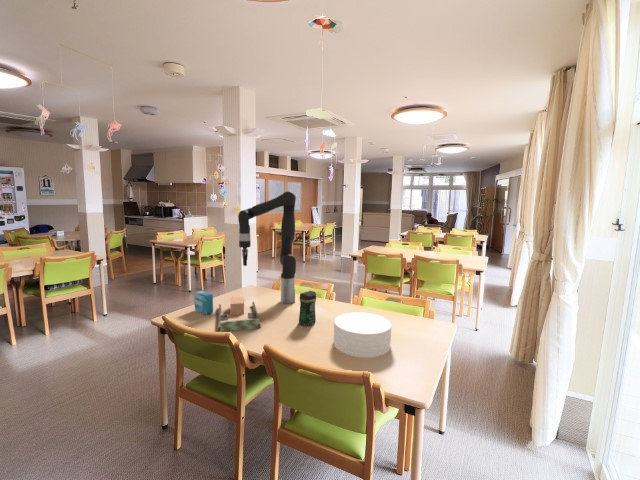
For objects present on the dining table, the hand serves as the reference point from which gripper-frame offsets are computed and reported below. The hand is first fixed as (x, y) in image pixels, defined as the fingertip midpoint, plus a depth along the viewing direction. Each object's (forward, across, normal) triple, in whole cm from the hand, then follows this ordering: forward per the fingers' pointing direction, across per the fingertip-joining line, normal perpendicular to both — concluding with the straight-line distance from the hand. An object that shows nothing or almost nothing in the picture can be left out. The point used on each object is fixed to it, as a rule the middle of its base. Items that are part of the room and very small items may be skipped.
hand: (244, 265), depth 221 cm
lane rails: (+25, -30, +6) cm, 40 cm away
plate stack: (+26, -80, -52) cm, 99 cm away
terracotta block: (+25, -19, +6) cm, 32 cm away
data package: (+25, -16, +26) cm, 40 cm away
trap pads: (+25, -29, +6) cm, 39 cm away
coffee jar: (+25, -48, -32) cm, 63 cm away
